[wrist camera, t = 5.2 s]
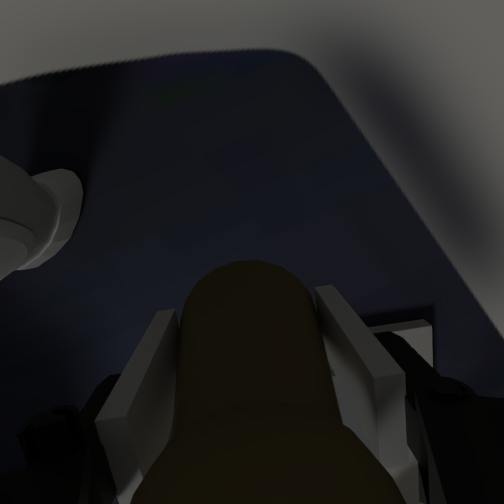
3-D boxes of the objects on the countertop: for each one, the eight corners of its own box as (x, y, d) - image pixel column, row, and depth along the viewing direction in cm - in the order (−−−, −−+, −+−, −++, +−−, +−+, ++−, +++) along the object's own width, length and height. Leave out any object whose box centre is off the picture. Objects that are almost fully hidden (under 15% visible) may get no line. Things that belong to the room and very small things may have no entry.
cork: (278, 234, 14) (405, 427, 3) (340, 348, 15) (572, 748, 5) (153, 302, 15) (-79, 662, 4) (224, 408, 16) (196, 893, 5)
